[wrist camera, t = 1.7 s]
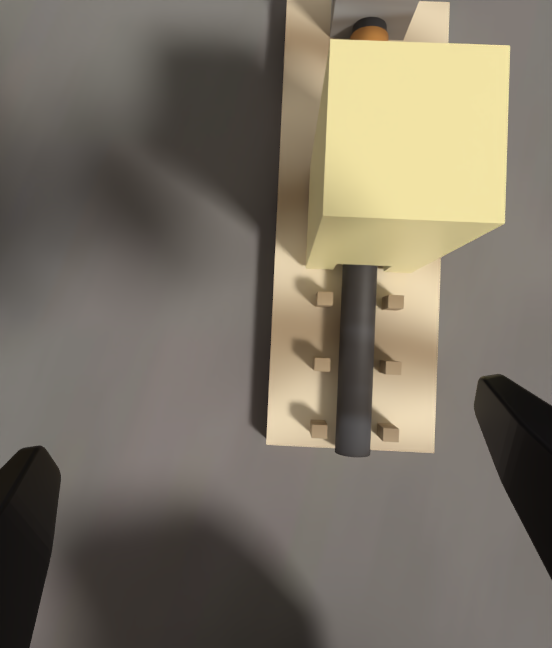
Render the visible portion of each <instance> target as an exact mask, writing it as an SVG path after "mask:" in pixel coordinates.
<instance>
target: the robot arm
mask: <svg viewBox="0 0 552 648" xmlns="http://www.w3.org/2000/svg"><path fill="white" fill-rule="evenodd" d="M474 411H475V415H476V418H477V420H478V423H479V425H480V428H481V431H482V433H483V436H484V439H485V441H486V444H487V446H488V449H489V452H490V454H491V457H492V459H493V462H494V465H495V467H496V470H497V472H498V475H499V477H500V480H501V482H502V484H503V486H504V488H505V490H506V492H507V494H508V496H509V498H510V500H511V502H512V504H513V506H514V508H515V510H516V512H517V514H518V516H519V518H520V520H521V521H522V523H523V525H524V527H525V529H526V531H527V533H528V535H529V537H530V539H531V541H532V543H533V545H534V547H535V548H536V550H537V552H538V554H539V556H540V558H541V560H542V562H543V564H544V566H545V568H546V570H547V572H548V574H549V575H550V577H551V579H552V406H551V405H550V404H548V403H547V402H545V401H543V400H542V399H540V398H539V397H537V396H535V395H534V394H532V393H531V392H529V391H527V390H526V389H524V388H523V387H521V386H520V385H518V384H516V383H515V382H513V381H512V380H510V379H508V378H507V377H505V376H503V375H501V374H495V375H488V376H483V377H481V378H480V379H479V381H478V385H477V390H476V396H475V401H474ZM60 482H61V474H60V470H59V468H58V466H57V465H56V463H55V462H54V460H53V459H52V457H51V456H50V455H49V453H48V452H47V450H46V449H45V448H44V447H43V446H33V447H26V448H22V449H20V450H19V451H18V452H17V453H16V454H15V455H14V456H13V457H12V458H11V459H10V460H9V461H8V462H7V463H6V464H5V465H4V466H3V467H2V468H1V469H0V648H29V647H30V643H31V639H32V634H33V630H34V626H35V622H36V617H37V613H38V609H39V605H40V600H41V596H42V592H43V588H44V583H45V579H46V575H47V571H48V566H49V562H50V557H51V552H52V546H53V539H54V531H55V523H56V515H57V507H58V499H59V491H60Z"/></svg>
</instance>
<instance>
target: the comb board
mask: <svg viewBox="0 0 552 648" xmlns="http://www.w3.org/2000/svg"><path fill="white" fill-rule="evenodd" d="M449 6H450V2H427V1H419V0H287V10H286V31H285V53H284V74H283V96H282V117H281V138H280V160H279V181H278V203H277V224H276V246H275V267H274V288H273V310H272V331H271V353H270V374H269V396H268V417H267V439H266V445H283V446H303V447H323V448H335V453H337V454H339V455H343V456H348V457H367V456H369V455H370V450H383V451H404V452H424V453H434V441H435V412H436V383H437V354H438V325H439V296H440V267H441V257H440V258H438V259H436V260H435V261H433V262H431V263H429V264H427V265H425V266H423V267H421V268H419V269H417V270H416V271H414V272H412V273H398V272H383V267H384V266H375V265H352V264H337V265H336V266H335V267H334V269H333V270H330V269H307V268H306V251H307V228H308V205H309V183H310V164H311V158H312V151H313V145H314V139H315V132H316V126H317V120H318V113H319V107H320V101H321V95H322V88H323V82H324V76H325V69H326V63H327V57H328V51H329V44H330V39H343V40H370V41H398V42H425V43H448V35H449Z"/></svg>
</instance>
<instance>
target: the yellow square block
mask: <svg viewBox="0 0 552 648" xmlns="http://www.w3.org/2000/svg"><path fill="white" fill-rule="evenodd" d="M509 63H510V46H507V45H480V44H452V43H425V42H398V41H370V40H343V39H330V44H329V51H328V57H327V63H326V69H325V76H324V82H323V88H322V95H321V101H320V107H319V113H318V120H317V126H316V132H315V139H314V145H313V151H312V158H311V164H310V183H309V205H308V228H307V251H306V268H307V269H330V270H333V269H334V267H335V266H336V265H337V264H352V265H375V266H384V267H383V272H398V273H412V272H414V271H416V270H417V269H419V268H421V267H423V266H425V265H427V264H429V263H431V262H433V261H435V260H436V259H438V258H440V257H442V256H444V255H446V254H448V253H450V252H452V251H454V250H455V249H457V248H459V247H461V246H463V245H465V244H467V243H469V242H471V241H473V240H474V239H476V238H478V237H480V236H482V235H484V234H486V233H488V232H490V231H492V230H493V229H495V228H497V227H499V226H501V225H503V224H505V197H506V164H507V130H508V97H509Z"/></svg>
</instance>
